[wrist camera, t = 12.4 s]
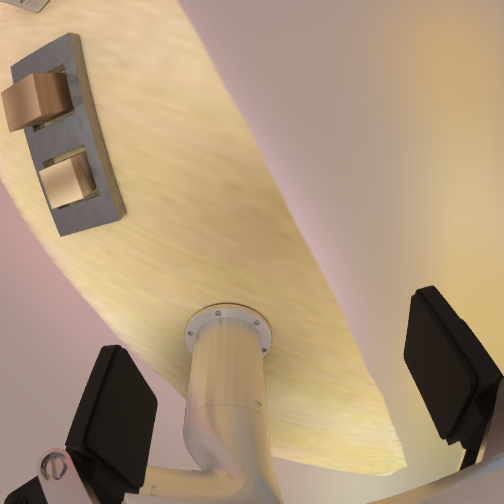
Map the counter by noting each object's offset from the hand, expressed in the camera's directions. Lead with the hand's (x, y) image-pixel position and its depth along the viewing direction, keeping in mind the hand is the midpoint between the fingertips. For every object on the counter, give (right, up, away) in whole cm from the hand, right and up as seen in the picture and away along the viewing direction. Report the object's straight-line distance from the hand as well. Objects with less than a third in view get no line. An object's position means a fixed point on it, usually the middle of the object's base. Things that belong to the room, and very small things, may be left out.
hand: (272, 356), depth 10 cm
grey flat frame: (-22, +17, +22) cm, 36 cm away
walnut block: (-23, +21, +20) cm, 37 cm away
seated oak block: (-21, +13, +24) cm, 35 cm away
